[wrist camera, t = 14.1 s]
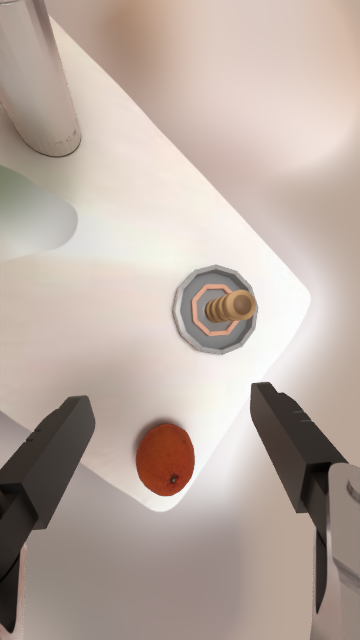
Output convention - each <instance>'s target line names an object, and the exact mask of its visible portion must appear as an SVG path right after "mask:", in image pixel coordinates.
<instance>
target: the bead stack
mask: <svg viewBox="0 0 360 640" xmlns="http://www.w3.org/2000/svg"><path fill="white" fill-rule="evenodd" d="M255 309H256V303H255V299H254V297H253V296H252V294H251V293H249V292H248V291H246V290H237V291H235V292H232V293H229V294H227V295H224V296H222V297H219V298H217V299H214V300H212V301H209V302H208V303H207V304H206V306H205V310H204V312H205V316H206V318H207V319H208V320H209V321H211V322H213V323H219V322H229V321H241V320H247V319H249V318H251V317H252V316H253V314H254V312H255Z"/></svg>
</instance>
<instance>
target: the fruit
mask: <svg viewBox="0 0 360 640" xmlns="http://www.w3.org/2000/svg"><path fill="white" fill-rule="evenodd" d="M194 464H195V456H194V448H193V445H192V442H191V440H190V437H189V435H188V434H187V432H186V431H185V430H183V429H182V428H180V427H177V426H176V425H172V424H162V425H159V426H157V427H155V428H153V429H152V430H151V431H149V432H148V434H147V435H145V436H144V438H143V439H142V441H141V442H140V445H139V447H138V450H137V454H136V466H137V472H138V475H139V478H140V480H141V481H142V483H143V484H144V485H145V486H146V487H147V488H148V489H150V490H151V491H152V492H154V493H156V494H157V495H160V496H172V495H174V494H176V493H178V492H179V491H181V490H182V489H183V488H184V487H185V485H186V484H187V483H188V482H189V480H190V479H191V477H192V474H193V470H194Z"/></svg>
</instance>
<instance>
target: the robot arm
mask: <svg viewBox="0 0 360 640" xmlns="http://www.w3.org/2000/svg"><path fill="white" fill-rule="evenodd" d="M0 102H1V103H2V105H3V107H4V109H5V110H6V112H7V114H8V115H9V117H10V119H11V120H12V122H13V124H14V125H15V127H16V129H17V130H18V132H19V134H20V135H21V137H22V138H23V140H24V141H25V142H26V143H27V144H28V145H29V146H30V147H31V148H33V149H34V150H36V151H38V152H40V153H42V154H45V155H49V156H64V155H67V154H70V153H71V152H73V151H74V150H75V149H76V148H77V147H78V145H79V143H80V140H81V132H80V127H79V124H78V120H77V117H76V113H75V110H74V106H73V102H72V98H71V95H70V91H69V88H68V84H67V81H66V77H65V73H64V70H63V66H62V63H61V59H60V56H59V52H58V49H57V45H56V41H55V38H54V34H53V31H52V27H51V24H50V20H49V17H48V13H47V9H46V6H45V2H44V0H0ZM250 413H251V417H252V421H253V423H254V425H255V427H256V429H257V432H258V434H259V436H260V438H261V440H262V442H263V444H264V446H265V448H266V450H267V452H268V455H269V457H270V459H271V461H272V463H273V465H274V467H275V469H276V471H277V474H278V476H279V478H280V480H281V482H282V484H283V486H284V488H285V490H286V492H287V494H288V497H289V499H290V501H291V503H292V505H293V507H294V509H295V511H296V513H309V515H310V517H311V519H312V521H313V523H314V525H315V526H314V552H313V606H312V626H311V634H310V640H360V468H359V467H357V466H354V465H351V464H349V463H348V462H347V461H346V460H345V458H344V457H343V456H342V455H341V454H340V453H339V451H338V450H337V449H336V448H335V447H334V446H333V444H332V443H331V442H330V441H329V440H328V439H327V437H326V436H325V435H324V434H323V433H322V432H321V430H320V429H319V428H318V427H317V426H316V425H315V423H314V422H312V421H311V419H310V418H309V416H308V415H307V414H306V413H304V411H303V410H302V408H301V407H300V406H299V405H298V404H297V402H296V401H294V400H293V399H292V398H291V397H289V396H287V395H286V394H285V393H278V392H277V391H276V390H275V388H274V387H273V386H272V384H271V383H269V382H260V383H252V385H251V400H250ZM94 429H95V418H94V415H93V411H92V408H91V404H90V401H89V398H88V396H86V395H84V396H71V397H68V398H67V399H66V400H65V402H64V403H63V404H62V405H61V406H60V408H59V409H56V410H55V411H53V412H52V413H51V414H49V415H48V416H47V417H46V418H44V419H43V420H42V422H41V423H40V424H39V425H38V426H37V427H36V429H35V430H34V432H32V433H31V434H30V436H29V437H28V438H27V439H26V442H24V443H23V444H22V445H21V446H20V447H19V449H18V450H17V451H16V452H15V453H14V455H13V456H12V457H11V458H10V459H9V460H8V461H7V463H6V464H5V465H4V466H3V467H2V468H1V469H0V640H24V637H23V621H24V598H25V574H26V544H25V541H26V540H27V538H28V536H29V534H30V532H31V530H39V529H46V528H47V526H48V524H49V522H50V520H51V518H52V516H53V514H54V512H55V510H56V508H57V506H58V504H59V501H60V500H61V497H62V496H63V494H64V492H65V490H66V488H67V485H68V483H69V481H70V479H71V477H72V475H73V473H74V471H75V469H76V467H77V465H78V463H79V461H80V459H81V457H82V455H83V453H84V451H85V449H86V447H87V445H88V443H89V441H90V439H91V437H92V435H93V432H94Z"/></svg>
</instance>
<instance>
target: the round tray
mask: <svg viewBox="0 0 360 640" xmlns="http://www.w3.org/2000/svg"><path fill="white" fill-rule="evenodd" d="M237 290H246V291H248V292H249V293H251V294H252V296H253V297H254V299H255V296H254V293H253V290H252V287H251V285H250V284H249V283H248V282H247V281H246V280H245V279H244V278H243V277H242V276H241V275H240V274H239V273H238V272H237V271H235V270H232V269H229V268H225V267H222V266H219V265H212V266H209V267H205V268H201V269H197V270H195V271H194V272H193V273H192V274H191V275H190V276H189V277H188V278H187V279H186V280H185V281H184V282H183V284H182V285H181V286H180V287H179V288H178V289H177V293H176V297H175V301H174V308H173V314H174V319H175V323H176V325H177V328H178V330H179V333H180V335H181V336H182V337H183V338H184V339H185V340H186V341H187V342H188V343H190V344H191V345H192V346H193V347H195V348H196V349H197V350H200V351H204V352H210V353H215V354H221V355H223V354H226V353H228V352H230V351H233V350H235V349H238V348H240V347H242V346H243V345H244V343H245V342H246V341H247V339H248V338H249V337H250V335H251V334H252V333H253V331H254V330H255V326H256V319H257V312H258V305H257V302H256V299H255V303H256V309H255V312H254V314H253V316H252V317H251V318H249V319H247V320H241V321H229V322H219V323H213V322H211V321H209V320H208V319H207V318H206V316H205V312H204V310H205V306H206V304H207V303H208V302H209V301H212V300H214V299H217V298H219V297H222V296H224V295H227V294H229V293H232V292H235V291H237Z"/></svg>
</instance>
